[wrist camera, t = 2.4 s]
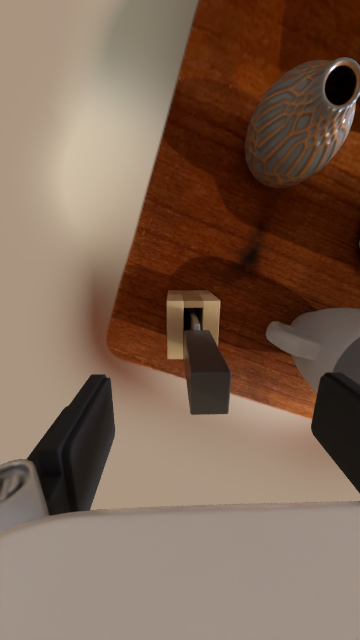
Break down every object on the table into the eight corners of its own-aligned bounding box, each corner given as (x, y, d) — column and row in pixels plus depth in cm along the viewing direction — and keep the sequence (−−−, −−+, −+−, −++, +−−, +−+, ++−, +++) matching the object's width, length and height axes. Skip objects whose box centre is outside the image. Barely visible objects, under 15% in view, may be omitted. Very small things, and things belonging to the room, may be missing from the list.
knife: (180, 300, 24) (191, 364, 10) (196, 300, 24) (232, 364, 10) (180, 326, 25) (190, 422, 10) (196, 326, 25) (228, 422, 10)
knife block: (168, 290, 24) (166, 300, 18) (209, 290, 24) (220, 300, 18) (168, 336, 25) (167, 359, 19) (207, 335, 25) (217, 359, 19)
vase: (310, 104, 20) (414, -11, 11) (308, 191, 22) (396, 148, 13) (233, 115, 20) (279, 8, 11) (238, 200, 22) (279, 164, 13)
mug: (361, 307, 25) (473, 337, 16) (326, 375, 27) (406, 436, 18) (262, 278, 24) (320, 291, 14) (234, 352, 26) (269, 404, 17)
